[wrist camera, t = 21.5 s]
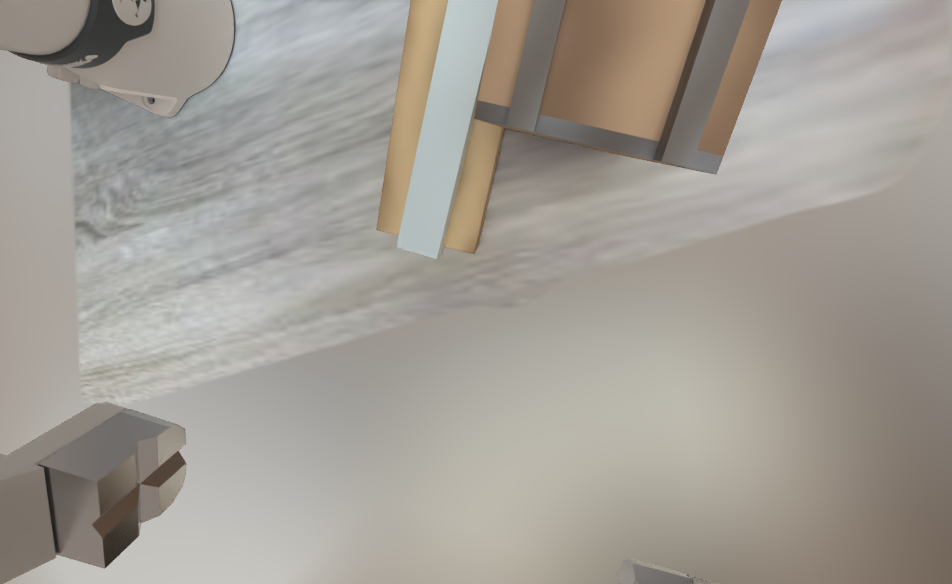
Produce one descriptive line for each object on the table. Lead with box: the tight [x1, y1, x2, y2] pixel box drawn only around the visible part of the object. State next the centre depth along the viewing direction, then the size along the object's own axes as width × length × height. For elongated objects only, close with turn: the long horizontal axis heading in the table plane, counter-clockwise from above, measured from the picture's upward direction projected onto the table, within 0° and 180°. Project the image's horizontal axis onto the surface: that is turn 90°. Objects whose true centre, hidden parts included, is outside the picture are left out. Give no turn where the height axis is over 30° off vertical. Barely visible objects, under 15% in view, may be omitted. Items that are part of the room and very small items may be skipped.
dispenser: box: [474, 0, 782, 174], centre depth 31 cm, size 11×12×28 cm
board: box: [376, 0, 505, 254], centre depth 45 cm, size 10×24×4 cm, turn 168°
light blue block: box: [396, 0, 498, 259], centre depth 42 cm, size 4×22×2 cm, turn 165°
